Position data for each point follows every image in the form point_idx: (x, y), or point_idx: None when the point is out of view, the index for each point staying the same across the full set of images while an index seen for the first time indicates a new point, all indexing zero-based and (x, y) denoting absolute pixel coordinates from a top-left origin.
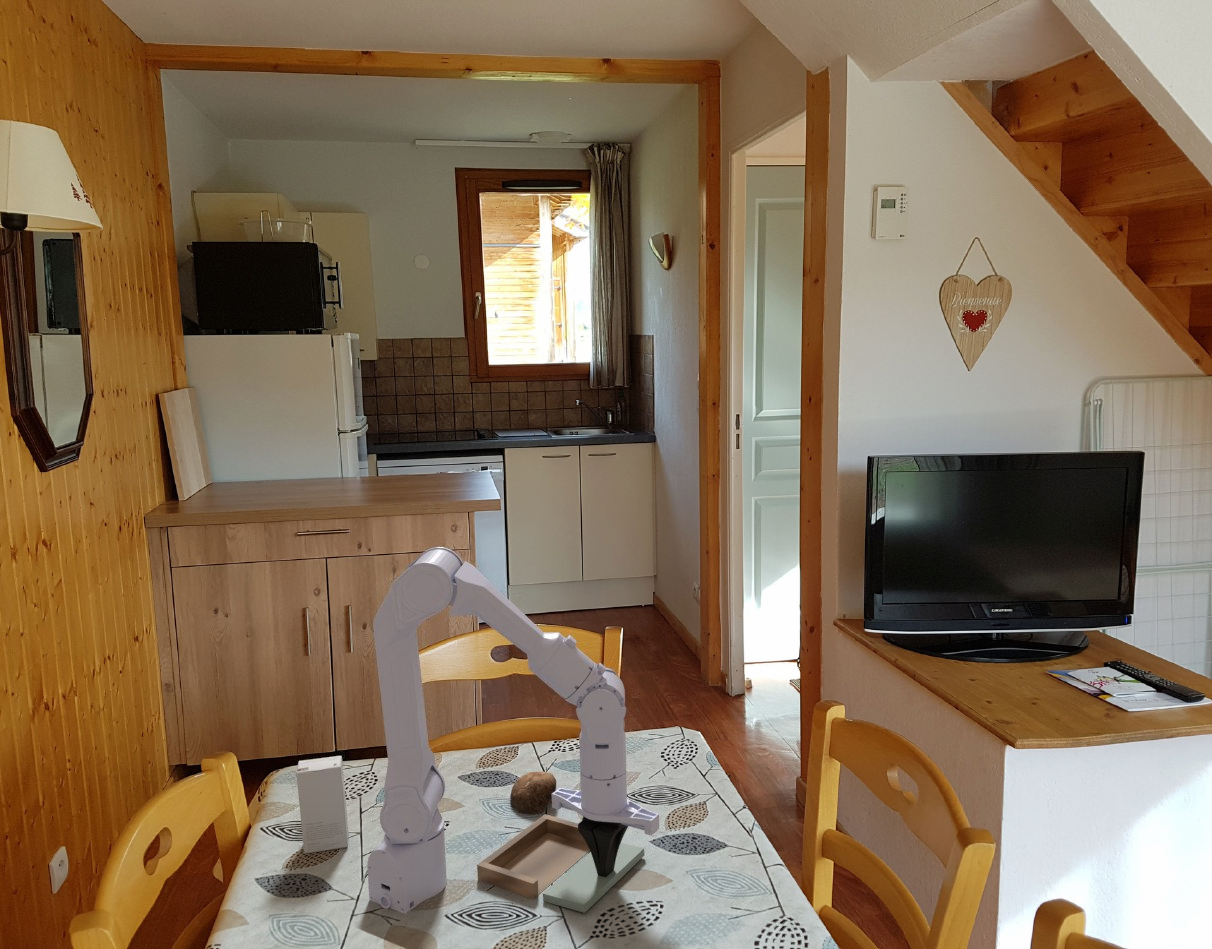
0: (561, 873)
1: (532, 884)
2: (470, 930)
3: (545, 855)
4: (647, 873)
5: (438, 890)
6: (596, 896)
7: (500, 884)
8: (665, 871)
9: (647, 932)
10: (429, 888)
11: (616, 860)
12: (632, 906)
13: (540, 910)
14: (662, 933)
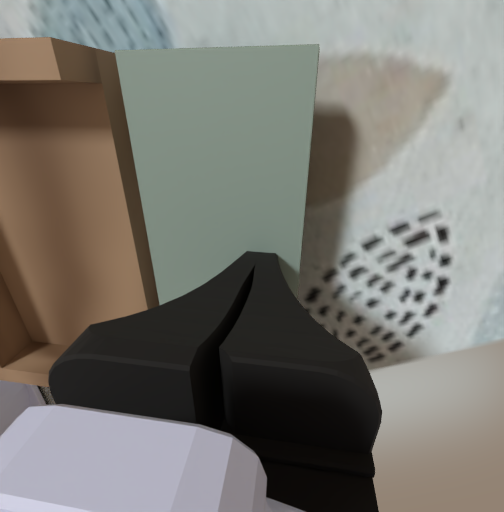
0: (136, 271)
1: None
2: None
3: (35, 214)
4: (338, 84)
5: (11, 401)
6: None
7: None
8: (402, 28)
9: (432, 336)
10: (4, 425)
11: (254, 197)
12: (359, 266)
13: None
14: (471, 329)
